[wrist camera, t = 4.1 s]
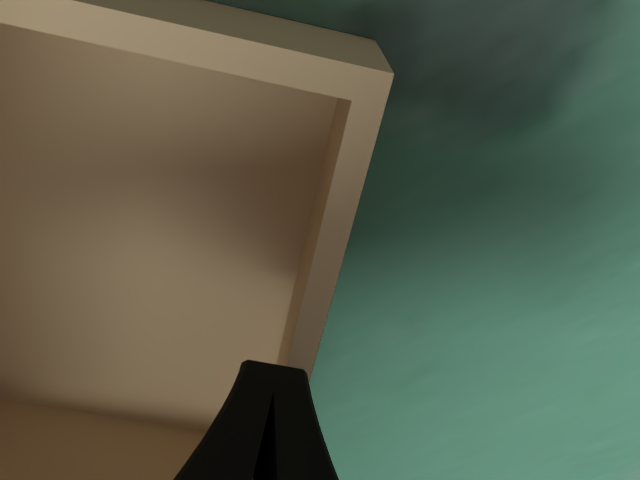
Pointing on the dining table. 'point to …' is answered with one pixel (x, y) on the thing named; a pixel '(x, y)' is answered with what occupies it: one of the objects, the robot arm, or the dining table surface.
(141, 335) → the box
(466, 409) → the dining table surface
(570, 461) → the dining table surface
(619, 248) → the dining table surface
